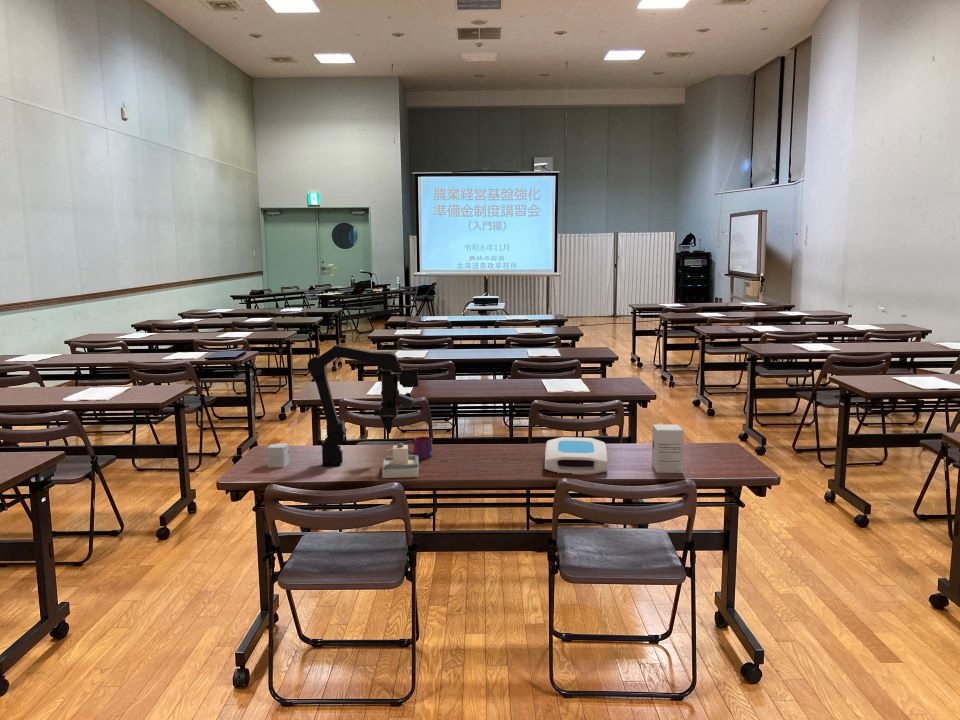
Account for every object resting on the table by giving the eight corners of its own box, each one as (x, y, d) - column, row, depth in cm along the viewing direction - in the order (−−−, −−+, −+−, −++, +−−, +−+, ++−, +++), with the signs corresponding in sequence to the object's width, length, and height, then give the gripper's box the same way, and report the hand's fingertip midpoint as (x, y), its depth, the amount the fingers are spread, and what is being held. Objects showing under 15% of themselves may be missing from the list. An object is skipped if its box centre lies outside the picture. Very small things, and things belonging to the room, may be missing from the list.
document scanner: (544, 473, 238) (544, 456, 237) (547, 452, 266) (547, 436, 265) (607, 475, 236) (607, 457, 235) (603, 453, 263) (604, 437, 262)
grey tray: (382, 478, 235) (381, 466, 234) (384, 466, 248) (384, 455, 248) (418, 476, 235) (418, 465, 235) (418, 465, 249) (418, 454, 249)
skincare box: (284, 467, 248) (283, 447, 247) (267, 467, 249) (266, 447, 248) (289, 463, 254) (288, 443, 253) (273, 463, 255) (272, 443, 254)
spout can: (385, 464, 239) (385, 446, 238) (386, 460, 244) (385, 442, 243) (407, 464, 239) (407, 445, 238) (408, 460, 244) (407, 442, 243)
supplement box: (651, 465, 246) (651, 423, 244) (677, 466, 245) (678, 424, 243) (656, 473, 237) (657, 429, 235) (683, 473, 236) (684, 429, 234)
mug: (431, 458, 258) (431, 440, 257) (404, 459, 258) (403, 440, 257) (433, 454, 264) (432, 436, 263) (406, 454, 265) (406, 436, 264)
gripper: (410, 392, 241) (411, 436, 243) (413, 383, 260) (414, 424, 262) (378, 392, 241) (379, 436, 243) (383, 383, 259) (384, 424, 261)
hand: (390, 430), depth 252 cm, fingers open, 9 cm apart
